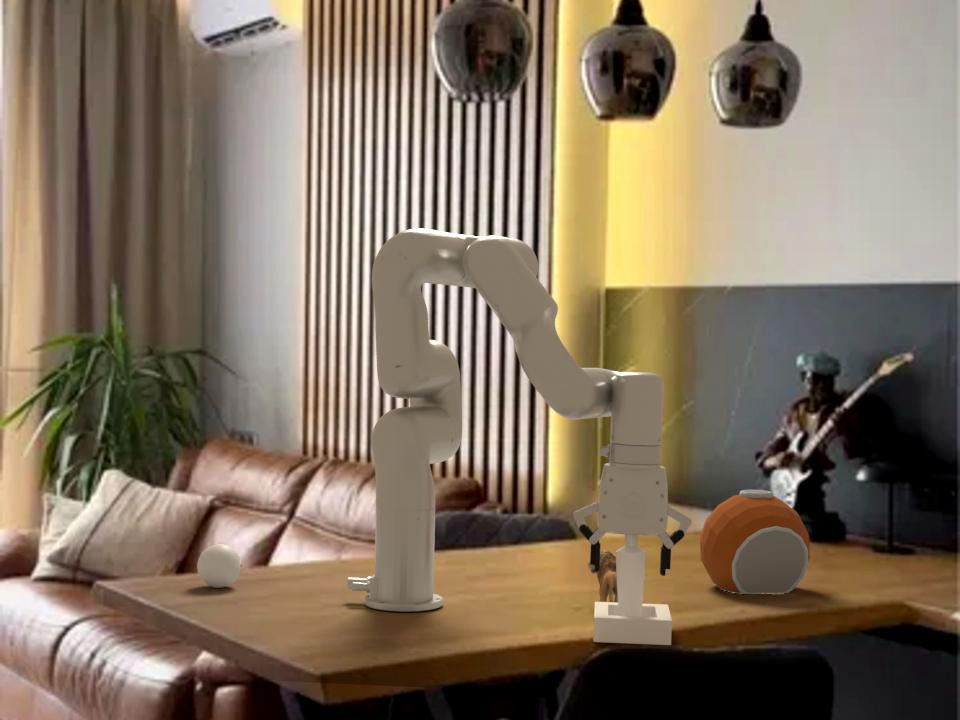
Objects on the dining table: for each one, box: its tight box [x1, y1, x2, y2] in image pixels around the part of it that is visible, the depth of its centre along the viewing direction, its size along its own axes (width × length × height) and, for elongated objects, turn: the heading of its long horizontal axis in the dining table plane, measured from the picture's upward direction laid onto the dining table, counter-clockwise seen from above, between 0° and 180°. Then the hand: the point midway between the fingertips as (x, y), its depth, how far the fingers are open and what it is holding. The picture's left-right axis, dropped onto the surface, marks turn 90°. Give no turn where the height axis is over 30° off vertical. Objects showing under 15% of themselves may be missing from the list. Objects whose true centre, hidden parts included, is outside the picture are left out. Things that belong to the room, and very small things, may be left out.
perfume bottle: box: [614, 534, 648, 617], centre depth 204 cm, size 5×4×15 cm
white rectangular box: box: [593, 601, 673, 646], centre depth 204 cm, size 11×12×4 cm
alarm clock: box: [699, 489, 811, 595], centre depth 244 cm, size 19×18×17 cm
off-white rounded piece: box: [196, 543, 243, 589], centre depth 235 cm, size 10×7×7 cm
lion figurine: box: [587, 549, 618, 603], centre depth 221 cm, size 15×5×9 cm, turn 6°
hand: (629, 572), depth 204 cm, fingers open, 9 cm apart
